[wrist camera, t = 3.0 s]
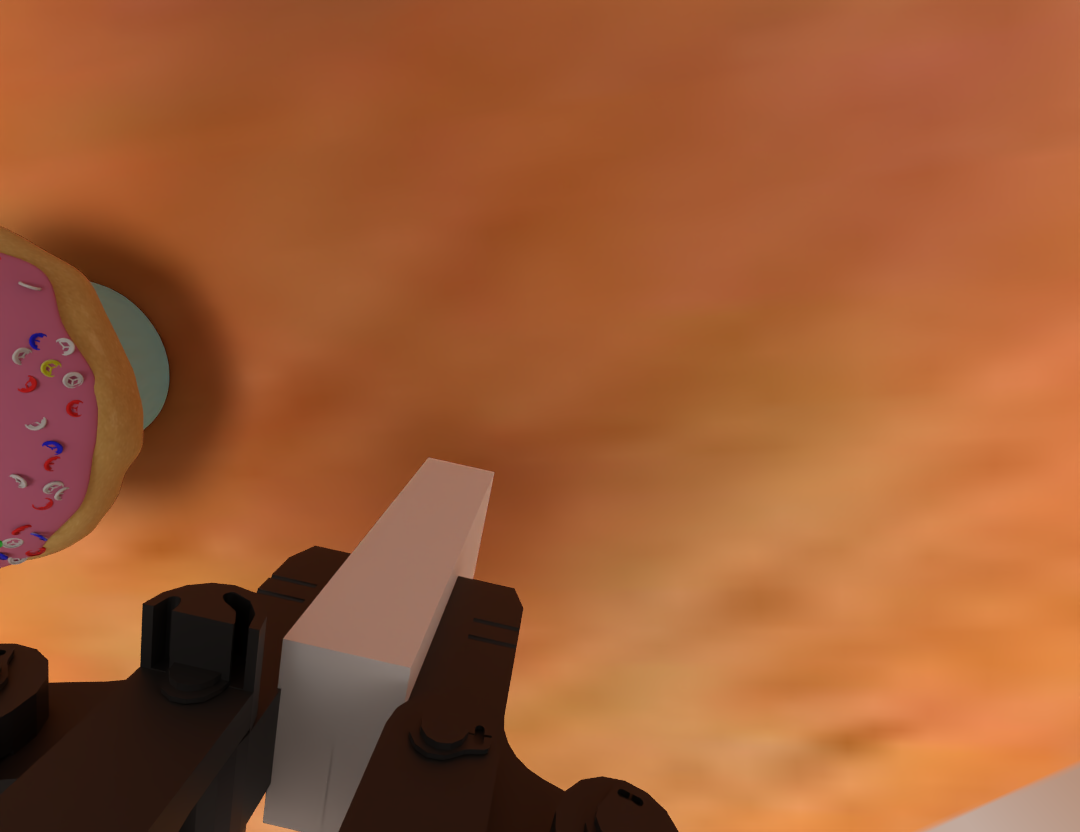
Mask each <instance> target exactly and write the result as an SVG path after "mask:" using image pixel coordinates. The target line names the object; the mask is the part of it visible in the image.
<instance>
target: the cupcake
mask: <svg viewBox="0 0 1080 832" xmlns="http://www.w3.org/2000/svg"><path fill="white" fill-rule="evenodd" d="M168 389H169V364H168V359H167V355H166V351H165V348H164V346H163V343H162V341H161V339H160V336H159V334H158V333H157V331H156V329H155V328H154V326H153V325H152V323H151V322H150V320H149V319H148V318H147V317H146V316H145V314H144V313H143V312H142V311H141V310H140V309H139V308H138V307H137V306H136V305H135V304H133V303H132V302H131V301H130V300H128V299H127V298H126V297H124V296H123V295H121V294H119V293H118V292H116V291H114V290H112V289H110V288H108V287H105V286H103V285H100V284H97V283H94V282H90V281H89V280H88V279H87V278H86V277H85V276H84V275H83V274H82V273H81V272H80V271H79V270H78V269H76V268H75V267H73V266H72V265H70V264H68V263H67V262H65V261H63V260H61V259H59V258H57V257H56V256H54V255H52V254H50V253H48V252H46V251H45V250H43V249H41V248H40V247H38V246H36V245H35V244H33V243H31V242H30V241H28V240H27V239H25V238H23V237H21V236H20V235H18V234H16V233H14V232H12V231H10V230H8V229H6V228H4V227H2V226H0V568H1V567H5V566H8V565H11V564H20V563H22V562H24V561H26V560H32V559H36V558H40V557H44V556H47V555H50V554H53V553H56V552H58V551H61V550H63V549H65V548H67V547H69V546H71V545H73V544H74V543H76V542H78V541H79V540H81V539H82V538H84V537H85V536H87V535H88V534H89V533H90V532H92V531H93V530H94V528H95V527H96V526H97V525H98V523H99V522H100V521H101V519H102V518H103V517H104V515H105V514H106V513H107V512H108V510H109V509H110V508H111V506H112V505H113V503H114V501H115V500H116V498H117V496H118V494H119V491H120V488H121V485H122V481H123V478H124V476H125V473H126V471H127V470H128V468H129V467H130V465H131V464H132V463H133V461H134V460H135V459H136V458H137V456H138V455H139V453H140V451H141V449H142V446H143V439H144V438H143V430H144V429H145V428H146V427H147V426H149V425H150V424H151V423H152V422H153V421H154V419H155V418H156V417H157V416H158V414H159V413H160V411H161V409H162V407H163V405H164V403H165V400H166V397H167V394H168Z"/></svg>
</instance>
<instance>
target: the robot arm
mask: <svg viewBox="0 0 1080 832" xmlns="http://www.w3.org/2000/svg"><path fill="white" fill-rule="evenodd" d="M494 473H495V472H492V471H488V470H483V469H479V468H474V467H470V466H465V465H461V464H456V463H452V462H447V461H443V460H438V459H434V458H429V457H428V459H427V460H426V461H425V462H424V463H423V465H422V466H421V467H420V468H419V470H418V471H417V472H416V473H415V475H414V476H413V477H412V478H411V480H410V481H409V482H408V483H407V485H406V486H405V487H404V488H403V490H402V491H401V492H400V493H399V495H398V496H397V497H396V498H395V500H394V501H393V502H392V503H391V505H390V506H389V507H388V508H387V510H386V511H385V512H384V513H383V515H382V516H381V517H380V518H379V520H378V521H377V522H376V523H375V525H374V526H373V527H372V528H371V530H370V531H369V532H368V533H367V535H366V536H365V537H364V538H363V540H362V541H361V542H360V543H359V545H358V546H357V547H356V548H355V550H354V551H353V552H352V553H351V554H350V553H345V552H341V551H336V550H332V549H327V548H323V547H319V546H314V547H311V548H309V549H307V550H305V551H303V552H300V553H298V554H296V555H294V556H292V557H289V558H288V559H287V560H286V561H285V562H284V563H283V564H282V565H281V566H280V567H279V568H278V569H277V570H276V571H275V572H274V573H273V574H272V577H271V578H268V579H267V580H266V581H265V582H264V583H263V584H262V585H261V586H260V587H259V588H258V591H257V593H255V592H251V591H249V590H246V589H244V588H241V587H238V586H236V585H227V584H218V583H206V584H195V585H186V586H183V587H180V588H176V589H173V590H169V591H166V592H163V593H161V594H159V595H157V596H156V597H154V598H152V599H150V600H148V601H147V602H145V603H143V610H142V637H141V664H140V668H138V669H137V670H136V671H135V672H134V673H133V674H132V675H131V676H130V677H129V678H127V679H126V680H120V681H109V682H62V683H48V660H47V659H46V658H45V657H44V656H43V655H42V654H41V653H40V652H39V651H38V650H37V649H33V648H30V647H26V646H22V645H18V644H0V832H245V831H246V824H247V822H248V820H249V819H250V817H251V816H252V814H253V812H254V811H255V809H256V807H257V806H258V804H259V802H260V801H261V799H262V797H263V796H264V794H265V792H266V799H265V808H264V817H263V823H267V824H271V825H275V826H279V827H284V828H288V829H292V830H297V831H301V832H678V830H677V828H676V827H675V825H674V823H673V822H672V820H671V818H670V816H669V815H668V813H667V811H666V810H665V809H664V808H663V807H662V806H660V805H659V804H658V803H657V802H656V801H655V800H654V799H653V798H652V797H651V796H650V795H649V794H648V793H647V792H645V791H643V790H641V789H639V788H637V787H635V786H633V785H632V784H630V783H628V782H626V781H623V780H618V779H613V778H607V777H596V778H590V779H584V780H580V781H579V782H578V783H576V784H575V785H573V786H572V787H570V788H569V789H568V790H566V791H563V790H562V789H560V788H558V787H556V786H554V785H553V784H551V783H549V782H547V781H545V780H544V779H542V778H541V777H539V776H538V775H536V774H535V773H533V772H532V771H530V770H529V769H528V768H527V767H526V766H525V765H524V764H523V763H522V762H521V761H520V760H519V759H518V758H517V757H516V755H515V754H514V752H513V750H512V749H511V747H510V745H509V744H508V741H507V738H506V735H505V731H504V715H505V709H506V703H507V697H508V692H509V686H510V680H511V675H512V669H513V663H514V658H515V652H516V646H517V641H518V635H519V629H520V623H521V618H522V612H523V607H522V604H521V602H520V600H519V598H518V595H517V593H516V591H515V589H514V588H510V587H505V586H501V585H497V584H492V583H488V582H483V581H479V580H474V579H473V577H474V572H475V567H476V562H477V557H478V552H479V547H480V542H481V537H482V532H483V527H484V522H485V517H486V512H487V507H488V503H489V498H490V493H491V488H492V483H493V478H494Z"/></svg>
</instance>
